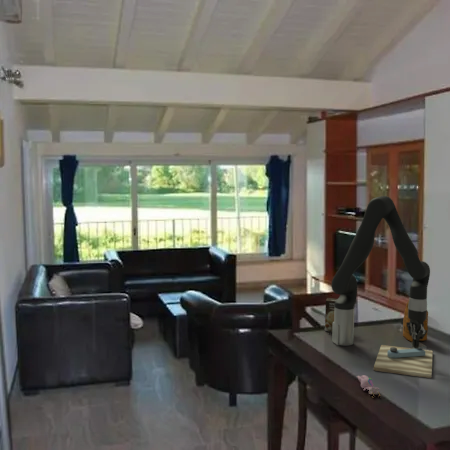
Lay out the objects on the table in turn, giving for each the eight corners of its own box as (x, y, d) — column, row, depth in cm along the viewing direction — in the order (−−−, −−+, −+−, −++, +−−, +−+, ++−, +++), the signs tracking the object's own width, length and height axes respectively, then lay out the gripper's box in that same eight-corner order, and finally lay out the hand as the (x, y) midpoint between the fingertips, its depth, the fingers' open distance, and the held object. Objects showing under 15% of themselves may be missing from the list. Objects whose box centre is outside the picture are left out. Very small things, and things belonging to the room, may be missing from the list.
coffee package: (419, 334, 273) (421, 291, 271) (429, 342, 261) (431, 297, 258) (399, 334, 273) (401, 291, 270) (409, 342, 260) (410, 297, 258)
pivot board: (431, 378, 216) (431, 364, 215) (373, 370, 224) (374, 357, 224) (432, 354, 244) (432, 342, 244) (381, 347, 252) (381, 336, 252)
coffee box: (324, 331, 278) (324, 300, 277) (326, 327, 284) (326, 297, 283) (342, 332, 275) (343, 301, 274) (343, 329, 281) (344, 299, 280)
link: (390, 358, 232) (391, 354, 232) (385, 354, 237) (385, 350, 237) (425, 356, 236) (426, 351, 235) (419, 352, 241) (419, 347, 240)
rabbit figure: (384, 401, 198) (367, 379, 212) (385, 386, 196) (368, 365, 210) (368, 402, 197) (351, 380, 211) (369, 387, 195) (353, 366, 209)
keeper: (417, 355, 237) (418, 346, 237) (410, 351, 243) (410, 342, 243) (426, 355, 238) (426, 346, 238) (418, 350, 244) (418, 341, 244)
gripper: (401, 304, 238) (399, 342, 240) (417, 312, 225) (415, 353, 227) (417, 303, 240) (415, 341, 242) (434, 311, 227) (432, 352, 229)
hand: (415, 347), depth 234 cm, fingers closed
